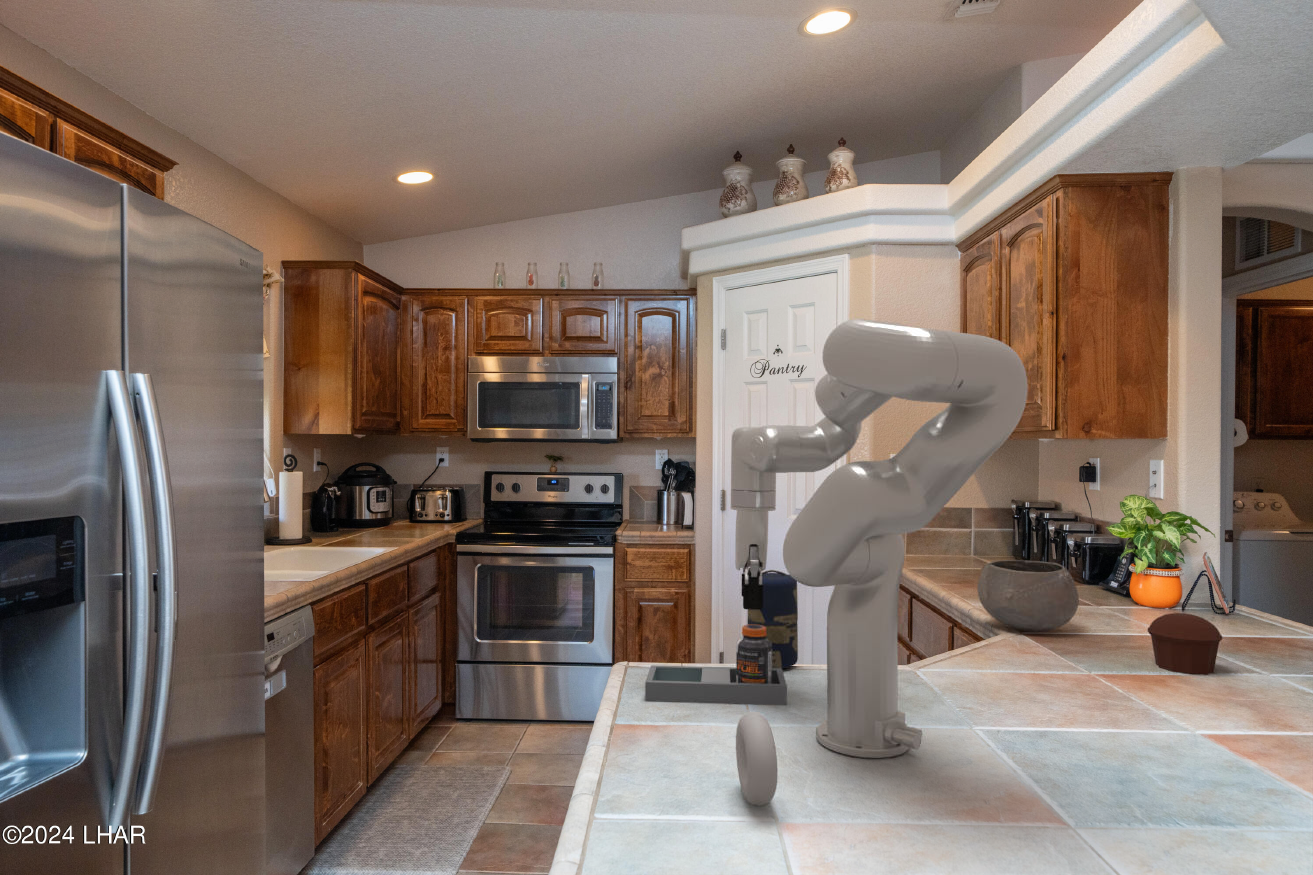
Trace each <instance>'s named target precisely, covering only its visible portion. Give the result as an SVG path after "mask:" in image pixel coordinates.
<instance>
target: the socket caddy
mask: <svg viewBox="0 0 1313 875" xmlns="http://www.w3.org/2000/svg"><path fill="white" fill-rule="evenodd" d="M646 676H647V677H646V679H645V682H644V683H645V684H644V685H645V687H644V688H645V690H644V691H645V693H644V695H645V697H644V701H646V702H672V703H673V702H676V703H677V702H678V703H704V704H705V703H707V704H708V703H710V704H711V703H712V704H737V705H738V704H739V705H740V704H741V705H743V704H744V705H775V706H787V705H788V685H787V682H786V678H785V675H784V671H783V668H780V669H775V668H772V684H761V683H736V666H735V667H728V666H727V667H724V666H696V665H695V666H693V665H689V666H688V665H686V666H685V665H657V664H655V665H654V664H653V665H650V667H649V671H648V673H647V675H646Z"/></svg>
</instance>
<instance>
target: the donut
mask: <svg viewBox="0 0 1313 875" xmlns="http://www.w3.org/2000/svg"><path fill="white" fill-rule="evenodd" d="M735 752H736V753H735V754H736V756H735V757H736V764H737V765H736V767H737V774H738V780H739V785H740V787H741V788H740V789H741V791H742V794H743V795H744V797H745V798H746V800H747V802H749V803H750V804H752V805H754V806H756V807H757V806H759V807H760V806H765V805H767V804H769V803H771V802H772V800H773V798H774V796H775V794H776V792H777V785H778V759H777V758H778V757H777V748H776V743H775V737H774V734H773V730H772V726H771V725H770V723H769V720H767V718H766V717H765V716H764V715H763V714H761V713H760V712H757V711H749V712H747V713H744V714H743V715H742V716H741V717H740V719H739V720H738V722H737V726H736V733H735Z"/></svg>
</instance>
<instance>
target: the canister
mask: <svg viewBox="0 0 1313 875" xmlns="http://www.w3.org/2000/svg"><path fill="white" fill-rule="evenodd" d="M762 584H763V609H762V610H751V609H747V625H751V624H754V625H762V626H765V627H766V639H768V640H770V642H771V643H772V668H775V669H784V668H786V669H787V668H791V667H793V666H795V665H796V664H797V663H798V660H799V659H798V658H799V656H798V655H799V653H798V652H799V649H798V648H799V645H798V644H799V641H798V640H799V639H798V635H799V634H798V633H799V632H798V631H799V630H798V629H799V628H798V619H799V615H798V613H799V612H798V610H799V609H798V608H799V607H798V606H799V604H798V582H797V581H796V580H795V579H794V578H793V577H791V575H790V574H789V573H788V574H787V573H785V572H783V571H779V570H774V569H769V570H764V571H762Z"/></svg>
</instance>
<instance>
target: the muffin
mask: <svg viewBox="0 0 1313 875" xmlns="http://www.w3.org/2000/svg"><path fill="white" fill-rule="evenodd" d="M1147 633H1148V634H1149V635H1150V637H1151V642H1152V643H1151V644H1152V648H1153V653H1154V654H1153V655H1154V660H1155V665H1157V667H1158V668H1159V669H1162V670H1166V671H1168V672H1171V673H1179V674H1185V675H1193V676H1195V675H1196V676H1208V675H1210V674H1215V673H1214V671H1215V667H1216V661H1217V656H1218V650H1219V647H1220V646H1219V644H1220V642H1221V641H1222V640H1223V635H1222V634H1221V632H1220V630H1219V629H1218V627H1216V626H1215V625H1214V624H1213V623H1212V622H1210V621H1209V620H1208V619H1205V618H1204V617H1202V616H1199V615H1195V614H1191V613H1184V612H1171V613H1166V614H1163V615H1161V616H1159V617H1156V618H1155V619H1154V620H1153V621H1152V622H1151V623H1150V625H1149V626H1148V628H1147Z"/></svg>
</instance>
